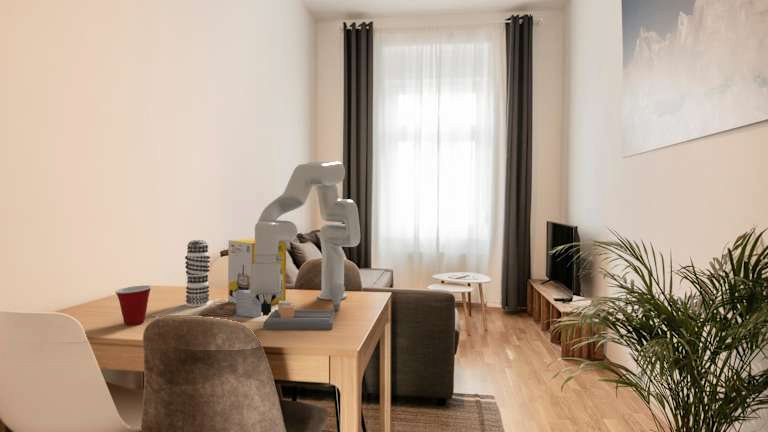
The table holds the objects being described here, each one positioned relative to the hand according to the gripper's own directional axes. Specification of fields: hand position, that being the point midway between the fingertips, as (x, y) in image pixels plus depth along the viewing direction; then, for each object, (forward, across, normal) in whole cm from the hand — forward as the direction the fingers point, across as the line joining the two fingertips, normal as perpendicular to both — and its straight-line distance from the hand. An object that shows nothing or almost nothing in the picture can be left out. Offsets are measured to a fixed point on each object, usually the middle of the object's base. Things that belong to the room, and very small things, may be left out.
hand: (266, 314), depth 152 cm
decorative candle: (+4, +33, -30) cm, 45 cm away
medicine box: (+4, +9, -14) cm, 17 cm away
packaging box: (+4, +11, -36) cm, 37 cm away
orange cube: (+1, -7, 0) cm, 7 cm away
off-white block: (+1, -5, -7) cm, 9 cm away
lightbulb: (+4, -22, -22) cm, 31 cm away
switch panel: (+4, -11, -4) cm, 12 cm away
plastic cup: (+4, +44, -2) cm, 44 cm away
